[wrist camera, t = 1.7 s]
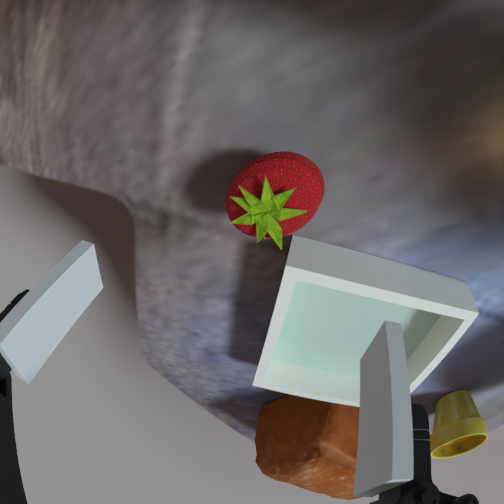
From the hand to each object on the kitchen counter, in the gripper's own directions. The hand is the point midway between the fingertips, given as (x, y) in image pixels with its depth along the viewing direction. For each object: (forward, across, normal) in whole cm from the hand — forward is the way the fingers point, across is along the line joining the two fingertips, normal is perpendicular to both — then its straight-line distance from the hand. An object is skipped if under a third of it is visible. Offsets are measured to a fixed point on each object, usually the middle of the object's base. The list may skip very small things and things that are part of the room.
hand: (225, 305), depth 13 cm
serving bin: (+17, +12, -16) cm, 26 cm away
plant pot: (+17, +37, -29) cm, 50 cm away
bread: (+17, +18, -41) cm, 48 cm away
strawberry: (+17, 0, 0) cm, 17 cm away
